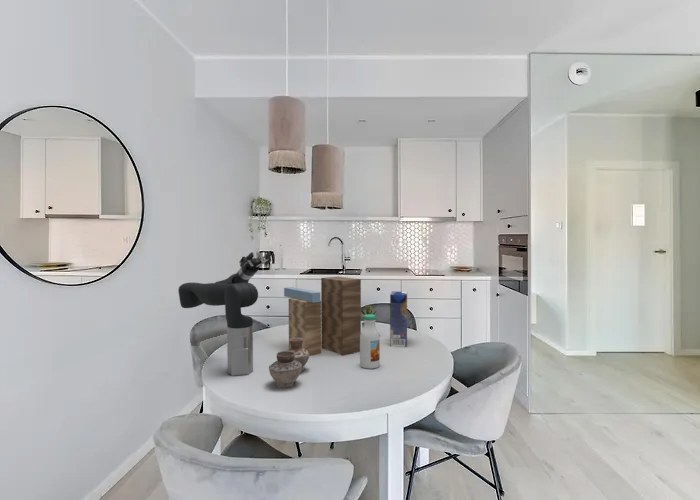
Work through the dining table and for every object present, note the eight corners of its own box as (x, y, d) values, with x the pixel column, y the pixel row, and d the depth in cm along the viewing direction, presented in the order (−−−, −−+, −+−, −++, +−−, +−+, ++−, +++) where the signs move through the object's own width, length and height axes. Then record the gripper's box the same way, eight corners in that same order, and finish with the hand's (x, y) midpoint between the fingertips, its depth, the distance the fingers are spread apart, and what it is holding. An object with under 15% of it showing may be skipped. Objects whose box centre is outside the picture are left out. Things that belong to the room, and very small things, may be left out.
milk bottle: (363, 370, 148) (363, 317, 147) (357, 363, 155) (357, 313, 155) (382, 368, 150) (382, 316, 149) (375, 362, 158) (375, 312, 157)
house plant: (350, 332, 207) (349, 302, 207) (374, 330, 211) (374, 300, 211) (358, 339, 194) (358, 306, 193) (384, 337, 198) (384, 304, 197)
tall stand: (360, 351, 172) (360, 279, 172) (343, 355, 166) (342, 280, 165) (338, 343, 185) (338, 276, 184) (321, 347, 179) (321, 277, 178)
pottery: (313, 366, 152) (313, 336, 152) (297, 391, 127) (297, 355, 127) (285, 365, 153) (284, 335, 153) (264, 390, 129) (264, 354, 128)
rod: (320, 301, 166) (320, 292, 166) (312, 302, 164) (312, 293, 164) (291, 295, 185) (291, 287, 185) (284, 296, 182) (284, 287, 182)
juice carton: (406, 347, 179) (406, 295, 178) (390, 346, 180) (390, 294, 180) (407, 340, 191) (407, 291, 190) (391, 339, 192) (391, 291, 191)
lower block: (321, 353, 170) (321, 300, 169) (305, 356, 165) (305, 302, 164) (303, 346, 181) (303, 296, 180) (288, 349, 176) (288, 298, 175)
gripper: (233, 263, 189) (245, 246, 178) (260, 262, 198) (273, 246, 187) (236, 277, 186) (248, 261, 175) (263, 275, 195) (277, 260, 184)
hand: (261, 253), depth 181 cm, fingers open, 8 cm apart
